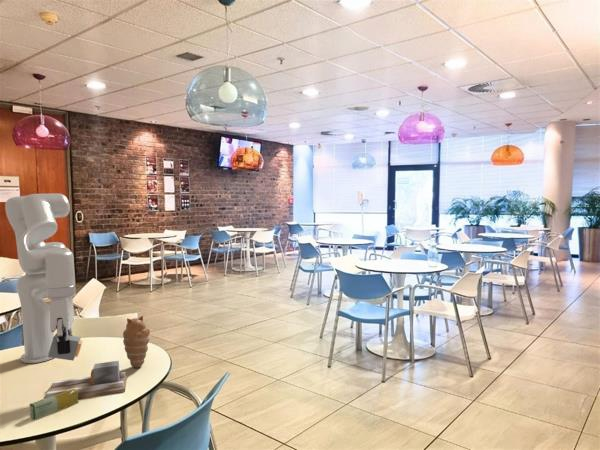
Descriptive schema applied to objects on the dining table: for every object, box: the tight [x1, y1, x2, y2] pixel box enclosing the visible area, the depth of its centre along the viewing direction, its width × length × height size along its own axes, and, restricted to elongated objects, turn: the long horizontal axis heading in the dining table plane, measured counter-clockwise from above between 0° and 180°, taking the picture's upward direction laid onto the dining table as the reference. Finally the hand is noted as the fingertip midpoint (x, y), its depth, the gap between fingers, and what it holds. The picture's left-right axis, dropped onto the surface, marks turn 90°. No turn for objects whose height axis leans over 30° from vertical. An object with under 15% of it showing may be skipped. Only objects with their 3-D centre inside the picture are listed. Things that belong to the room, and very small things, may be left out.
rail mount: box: [43, 360, 128, 400], centre depth 133 cm, size 22×12×7 cm, turn 108°
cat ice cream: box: [122, 315, 151, 369], centre depth 148 cm, size 9×8×18 cm
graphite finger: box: [48, 332, 83, 361], centre depth 130 cm, size 4×8×6 cm, turn 109°
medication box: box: [29, 389, 79, 421], centre depth 121 cm, size 12×3×4 cm, turn 141°
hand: (65, 350), depth 130 cm, fingers closed on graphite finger, 3 cm apart
